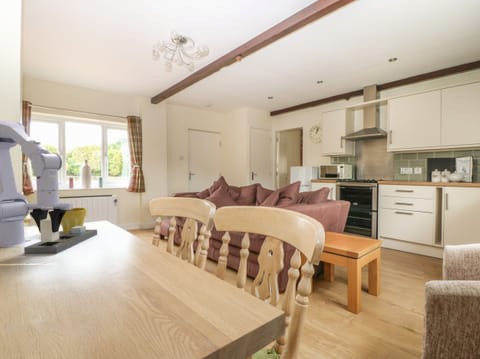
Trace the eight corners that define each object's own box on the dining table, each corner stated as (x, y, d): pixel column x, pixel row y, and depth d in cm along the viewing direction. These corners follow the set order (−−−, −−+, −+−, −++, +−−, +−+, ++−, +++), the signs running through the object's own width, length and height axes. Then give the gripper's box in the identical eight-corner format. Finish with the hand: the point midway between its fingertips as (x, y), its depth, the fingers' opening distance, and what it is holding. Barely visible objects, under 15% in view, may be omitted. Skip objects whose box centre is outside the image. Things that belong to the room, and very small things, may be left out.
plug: (39, 242, 83) (38, 220, 83) (48, 239, 87) (47, 218, 87) (50, 242, 83) (49, 220, 83) (59, 238, 87) (58, 218, 87)
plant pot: (65, 236, 105) (65, 212, 105) (53, 232, 110) (52, 210, 110) (91, 230, 114) (91, 208, 114) (79, 228, 119) (78, 206, 119)
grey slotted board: (24, 255, 81) (24, 247, 81) (72, 235, 105) (71, 229, 105) (56, 255, 82) (56, 247, 81) (97, 235, 105) (97, 229, 105)
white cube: (71, 238, 100) (71, 228, 99) (76, 236, 103) (76, 226, 103) (80, 238, 100) (80, 227, 99) (85, 235, 103) (85, 225, 103)
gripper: (14, 191, 80) (16, 235, 81) (62, 191, 81) (63, 234, 81) (32, 189, 87) (33, 230, 88) (76, 189, 88) (77, 229, 88)
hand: (49, 231), depth 85 cm, fingers closed on plug, 3 cm apart
